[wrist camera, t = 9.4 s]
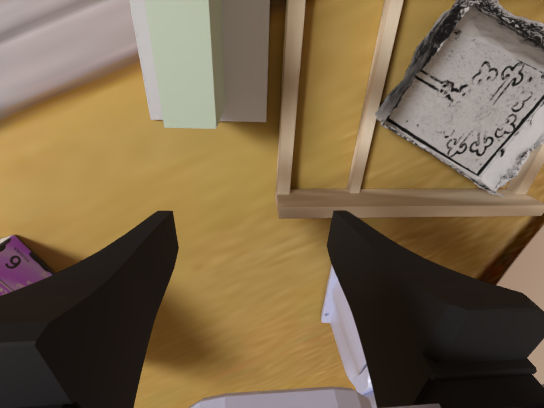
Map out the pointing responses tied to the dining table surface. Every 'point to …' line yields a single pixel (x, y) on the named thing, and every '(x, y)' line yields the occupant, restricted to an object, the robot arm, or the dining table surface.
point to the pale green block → (188, 61)
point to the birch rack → (353, 197)
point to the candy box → (19, 266)
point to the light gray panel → (237, 59)
